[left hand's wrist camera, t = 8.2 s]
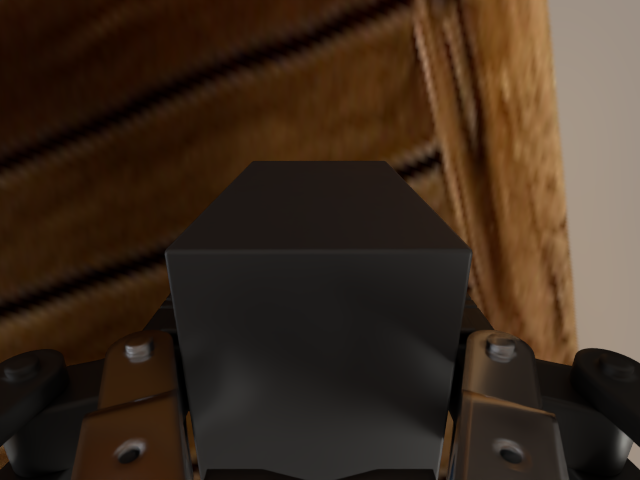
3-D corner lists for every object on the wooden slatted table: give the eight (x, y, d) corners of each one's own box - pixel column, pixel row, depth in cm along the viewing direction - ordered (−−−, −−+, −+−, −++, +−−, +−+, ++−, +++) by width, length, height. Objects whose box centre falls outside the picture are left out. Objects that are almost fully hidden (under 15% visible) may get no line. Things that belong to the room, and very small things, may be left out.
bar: (251, 160, 15) (162, 250, 7) (386, 160, 15) (474, 249, 7) (276, 535, 24) (250, 796, 15) (363, 534, 24) (389, 796, 15)
